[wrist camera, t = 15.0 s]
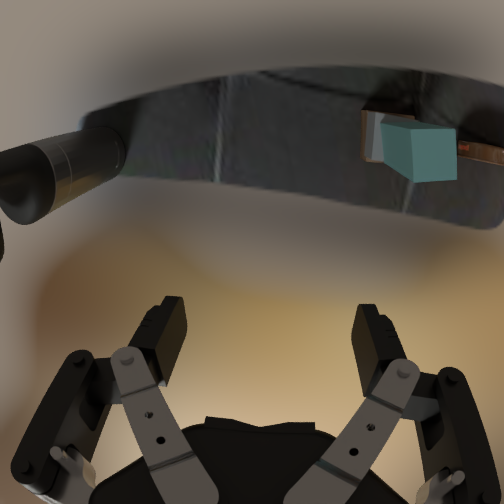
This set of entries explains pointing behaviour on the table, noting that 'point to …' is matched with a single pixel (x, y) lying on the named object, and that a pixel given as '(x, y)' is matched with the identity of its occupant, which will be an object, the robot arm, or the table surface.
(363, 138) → the tower base
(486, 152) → the tin
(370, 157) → the tower top
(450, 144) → the block
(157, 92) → the table surface
